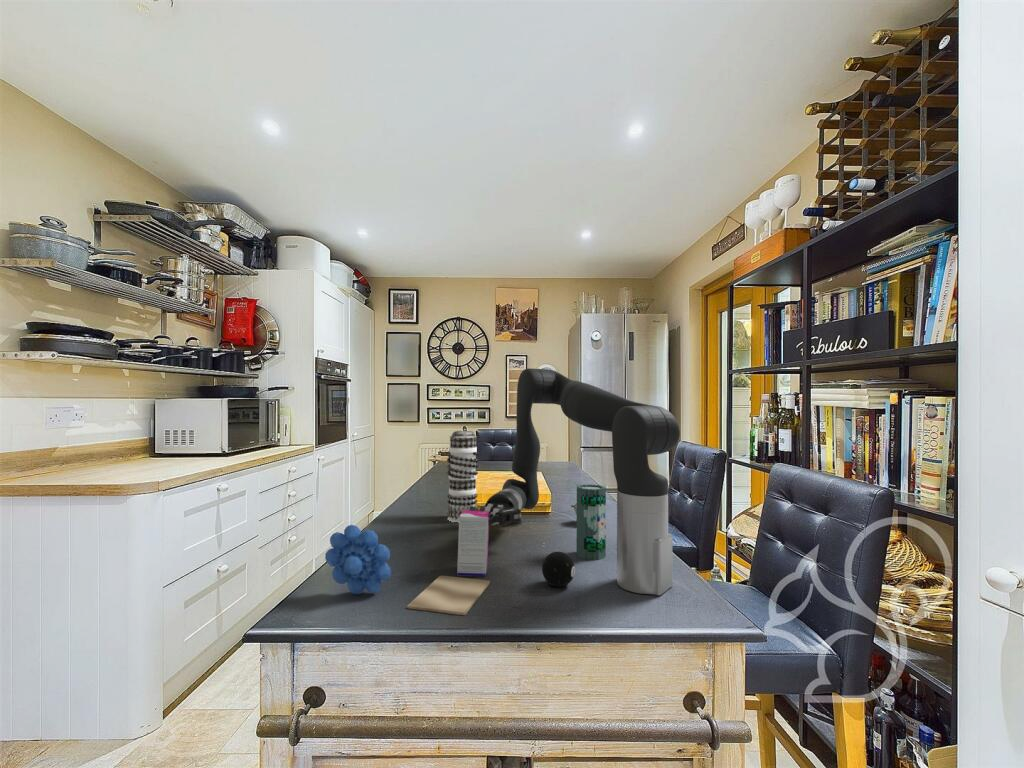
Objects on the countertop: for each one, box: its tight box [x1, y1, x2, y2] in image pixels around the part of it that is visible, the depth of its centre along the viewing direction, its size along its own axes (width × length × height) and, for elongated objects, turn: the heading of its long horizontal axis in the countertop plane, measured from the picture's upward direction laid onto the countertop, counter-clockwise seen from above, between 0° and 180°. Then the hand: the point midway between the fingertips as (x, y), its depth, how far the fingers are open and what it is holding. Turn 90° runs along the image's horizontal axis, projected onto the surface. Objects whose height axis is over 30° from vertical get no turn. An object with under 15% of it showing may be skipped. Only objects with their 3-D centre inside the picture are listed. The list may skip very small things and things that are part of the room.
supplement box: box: [456, 510, 490, 577], centre depth 96 cm, size 6×6×12 cm
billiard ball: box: [541, 551, 576, 587], centre depth 89 cm, size 6×6×6 cm
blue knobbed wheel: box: [324, 524, 392, 596], centre depth 84 cm, size 12×7×12 cm, turn 89°
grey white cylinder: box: [446, 430, 480, 524], centre depth 138 cm, size 9×9×25 cm
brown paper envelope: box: [406, 575, 491, 616], centre depth 84 cm, size 14×10×1 cm
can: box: [575, 483, 607, 561], centre depth 107 cm, size 6×6×15 cm
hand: (483, 523), depth 102 cm, fingers closed
